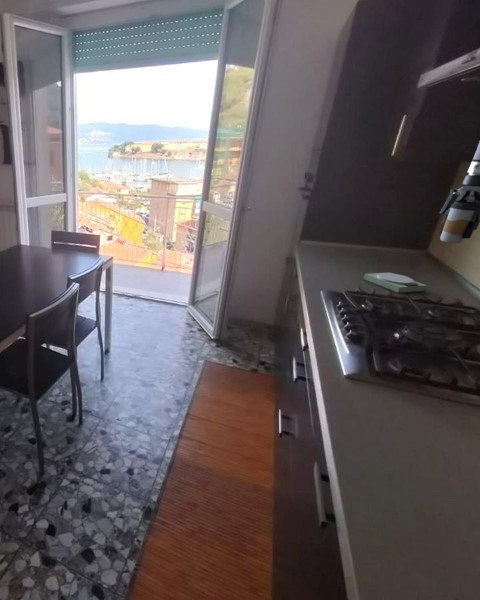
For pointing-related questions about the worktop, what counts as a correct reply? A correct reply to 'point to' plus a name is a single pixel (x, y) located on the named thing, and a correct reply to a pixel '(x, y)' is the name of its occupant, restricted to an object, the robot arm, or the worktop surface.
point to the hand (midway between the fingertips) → (454, 235)
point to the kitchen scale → (395, 282)
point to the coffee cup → (458, 221)
